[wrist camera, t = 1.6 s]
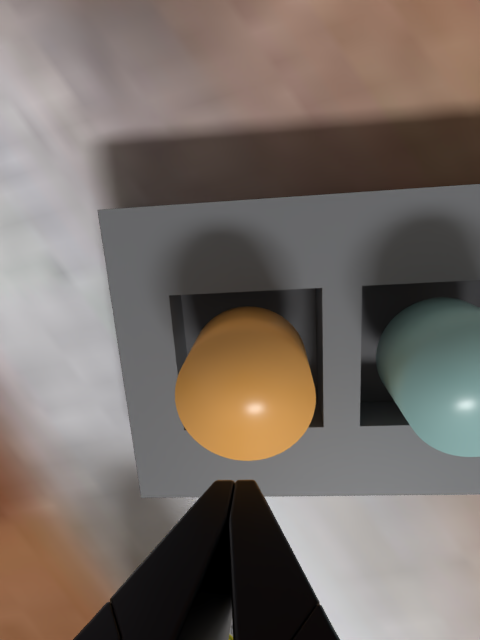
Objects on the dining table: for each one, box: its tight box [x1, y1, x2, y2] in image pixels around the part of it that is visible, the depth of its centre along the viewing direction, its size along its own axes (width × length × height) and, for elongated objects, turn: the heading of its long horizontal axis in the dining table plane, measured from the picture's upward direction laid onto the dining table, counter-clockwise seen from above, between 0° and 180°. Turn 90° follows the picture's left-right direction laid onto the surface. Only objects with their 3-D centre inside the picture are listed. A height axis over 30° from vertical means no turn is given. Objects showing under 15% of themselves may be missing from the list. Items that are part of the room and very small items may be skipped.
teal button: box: [376, 297, 480, 457], centre depth 14 cm, size 4×4×3 cm
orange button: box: [175, 306, 316, 461], centre depth 14 cm, size 4×4×3 cm
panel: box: [98, 184, 480, 498], centre depth 16 cm, size 24×12×3 cm, turn 94°
